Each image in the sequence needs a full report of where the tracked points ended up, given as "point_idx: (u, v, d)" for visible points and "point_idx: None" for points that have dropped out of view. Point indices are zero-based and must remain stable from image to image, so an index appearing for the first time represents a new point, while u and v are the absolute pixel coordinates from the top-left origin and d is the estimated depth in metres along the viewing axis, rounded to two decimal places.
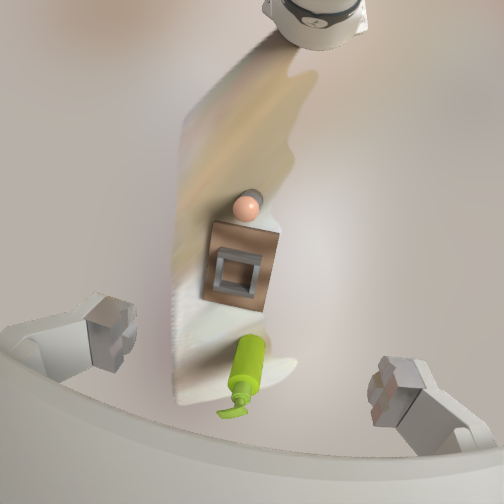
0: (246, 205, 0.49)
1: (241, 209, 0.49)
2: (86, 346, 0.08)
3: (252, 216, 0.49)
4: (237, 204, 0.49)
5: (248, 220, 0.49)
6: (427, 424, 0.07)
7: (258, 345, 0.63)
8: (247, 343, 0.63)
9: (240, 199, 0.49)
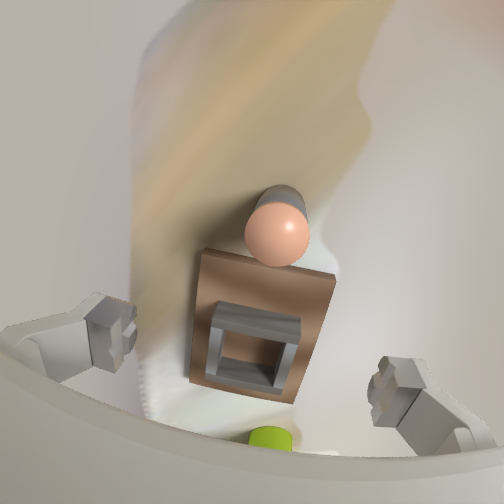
0: (278, 225, 0.19)
1: (266, 236, 0.20)
2: (86, 346, 0.08)
3: (293, 253, 0.20)
4: (256, 223, 0.19)
5: (283, 262, 0.20)
6: (427, 424, 0.07)
7: (283, 447, 0.34)
8: (264, 445, 0.34)
9: (264, 211, 0.19)
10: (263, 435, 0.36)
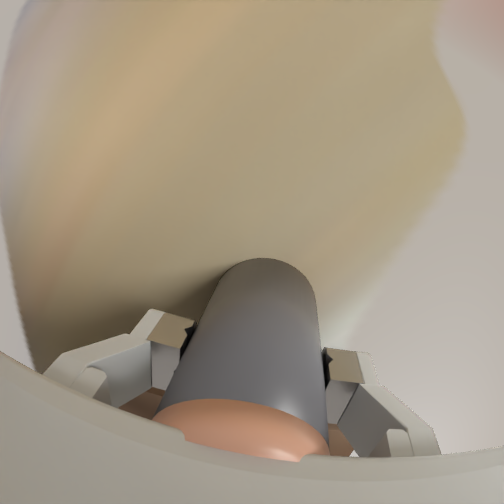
0: None
1: None
2: (148, 368, 0.08)
3: None
4: None
5: None
6: (365, 422, 0.07)
7: None
8: None
9: None
10: None
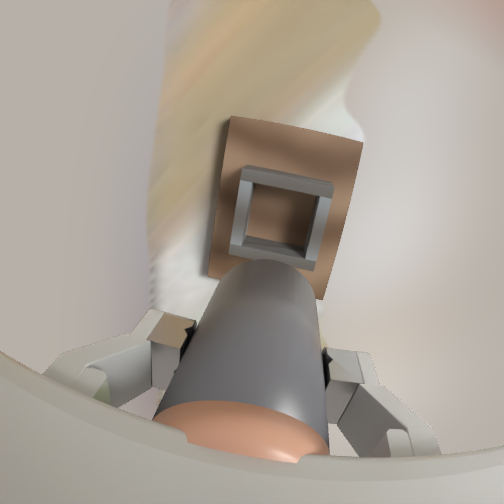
0: None
1: None
2: (148, 368, 0.08)
3: None
4: None
5: None
6: (365, 422, 0.07)
7: None
8: None
9: None
10: None
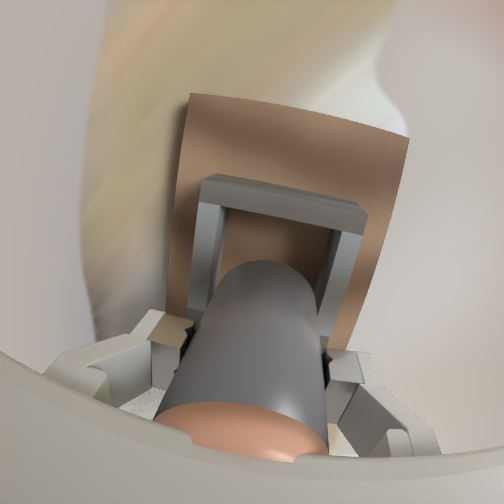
0: None
1: None
2: (148, 368, 0.08)
3: None
4: None
5: None
6: (366, 422, 0.07)
7: None
8: None
9: None
10: None
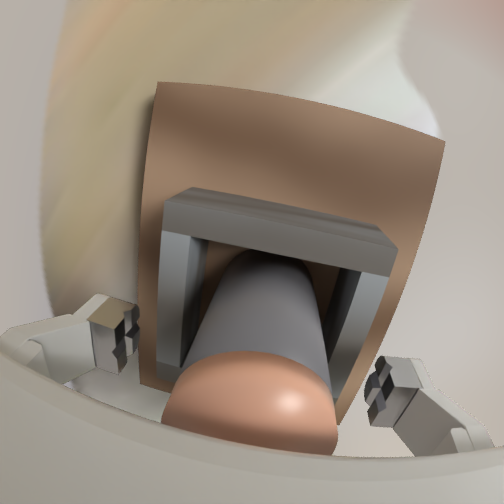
0: (252, 426, 0.06)
1: None
2: (89, 347, 0.08)
3: None
4: (188, 416, 0.06)
5: None
6: (424, 424, 0.07)
7: None
8: None
9: (206, 394, 0.06)
10: None
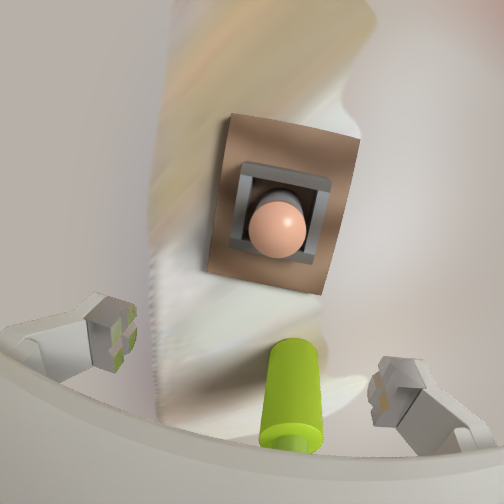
0: (279, 221, 0.22)
1: (268, 230, 0.22)
2: (86, 346, 0.08)
3: (291, 246, 0.22)
4: (259, 219, 0.22)
5: (282, 254, 0.23)
6: (427, 424, 0.07)
7: (310, 358, 0.33)
8: (289, 354, 0.33)
9: (266, 208, 0.22)
10: (287, 346, 0.35)
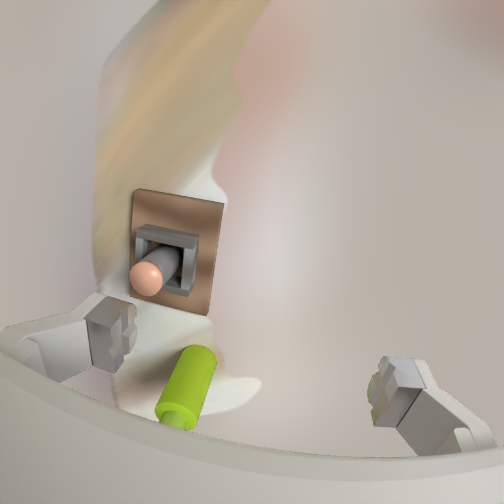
0: (144, 274, 0.34)
1: (139, 279, 0.34)
2: (86, 346, 0.08)
3: (153, 289, 0.35)
4: (134, 272, 0.34)
5: (149, 294, 0.35)
6: (427, 424, 0.07)
7: (203, 360, 0.45)
8: (188, 357, 0.45)
9: (137, 266, 0.34)
10: (189, 351, 0.47)
